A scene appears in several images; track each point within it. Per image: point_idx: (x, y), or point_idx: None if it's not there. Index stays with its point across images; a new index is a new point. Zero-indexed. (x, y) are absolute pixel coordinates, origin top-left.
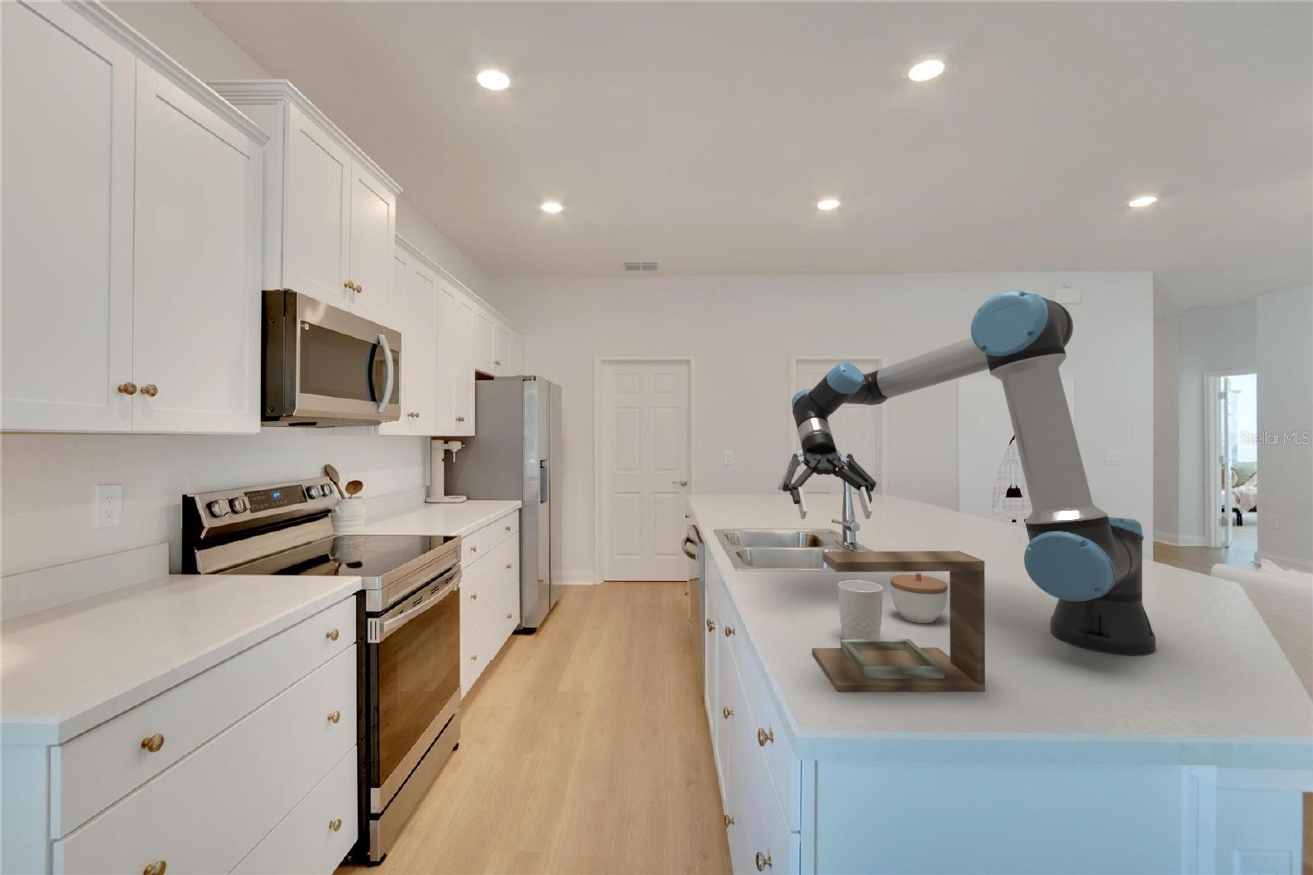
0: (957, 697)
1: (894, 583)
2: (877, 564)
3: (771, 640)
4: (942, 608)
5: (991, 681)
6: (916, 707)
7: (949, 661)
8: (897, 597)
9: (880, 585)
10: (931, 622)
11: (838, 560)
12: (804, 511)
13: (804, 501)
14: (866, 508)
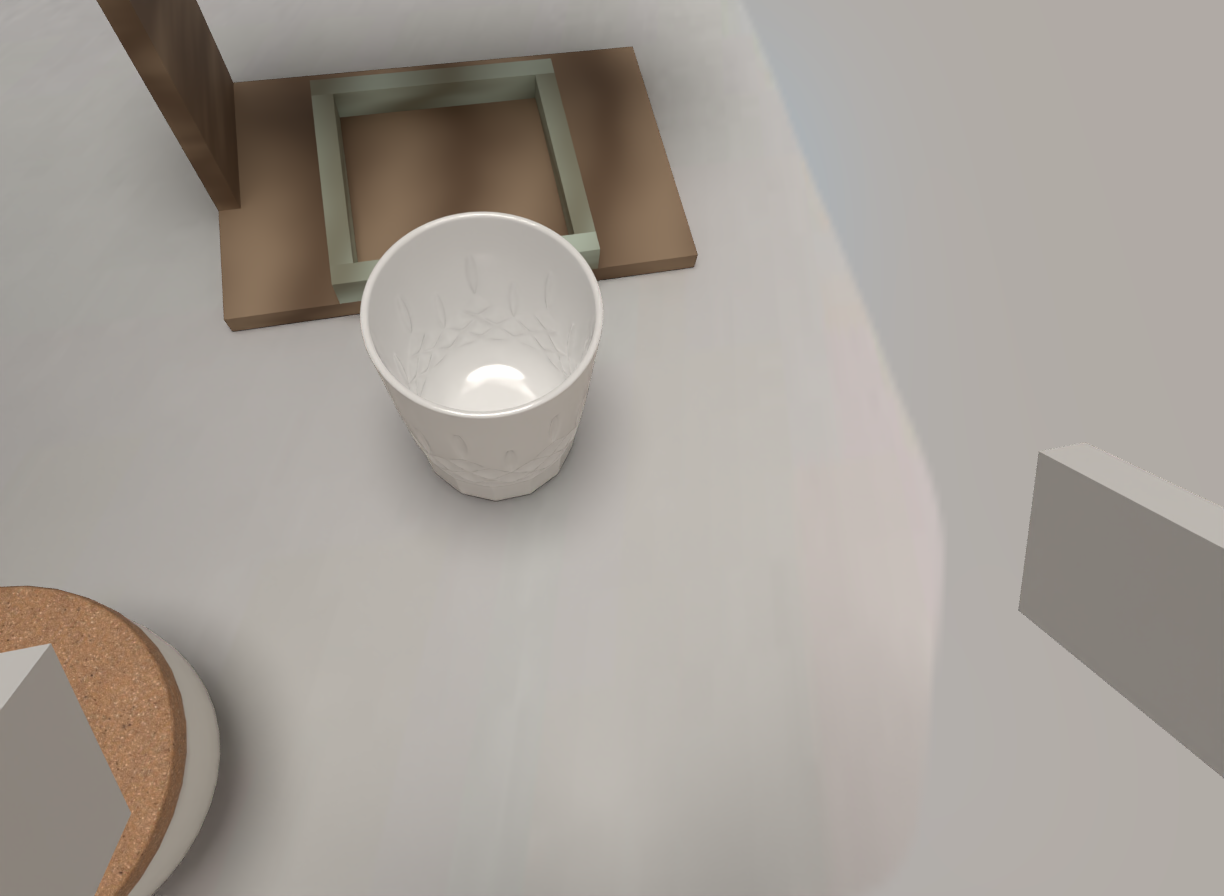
0: (318, 66)
1: (173, 709)
2: None
3: (842, 359)
4: None
5: (161, 155)
6: (447, 17)
7: (241, 211)
8: (199, 694)
9: (363, 327)
10: None
11: None
12: (1073, 448)
13: (1210, 532)
14: (23, 765)
